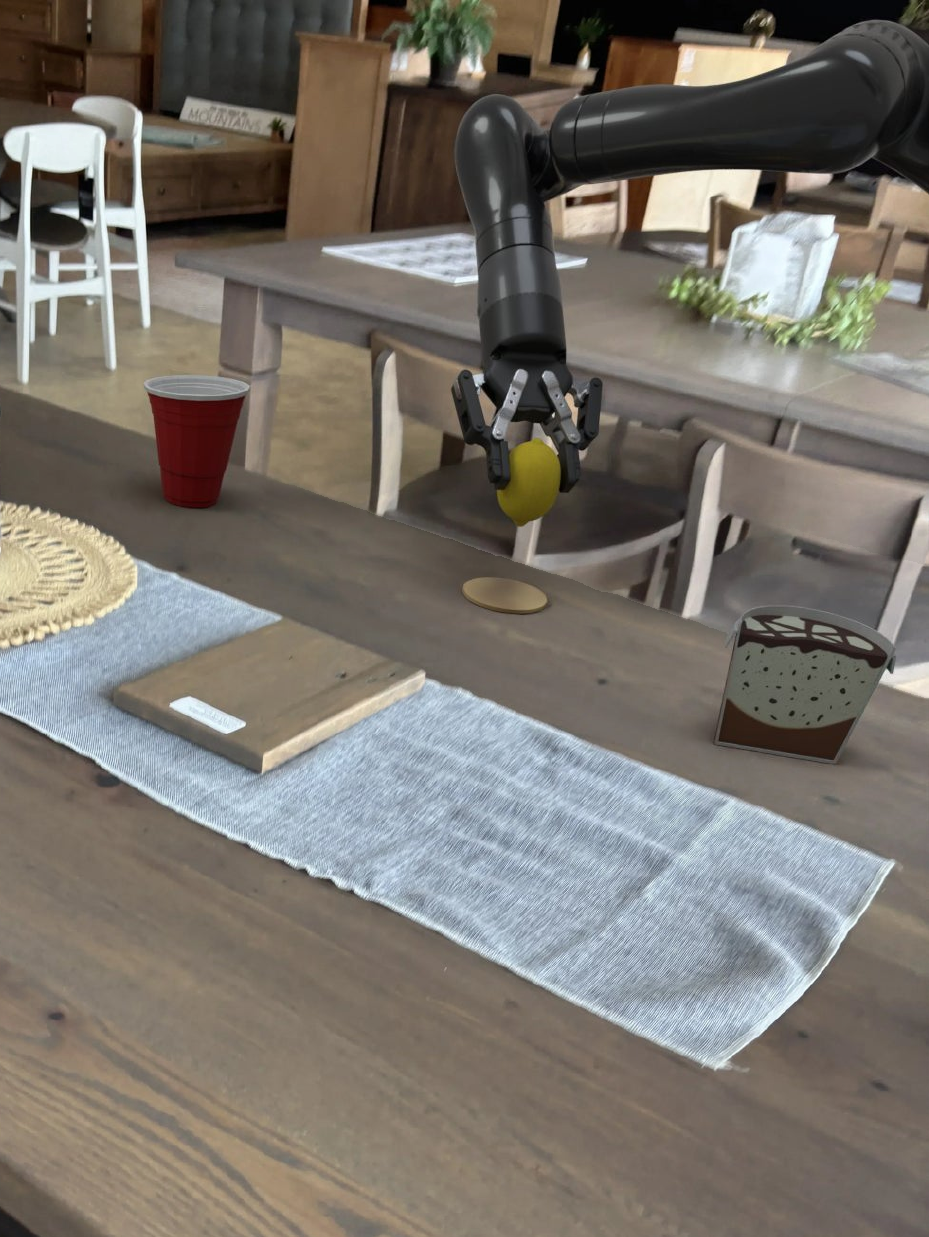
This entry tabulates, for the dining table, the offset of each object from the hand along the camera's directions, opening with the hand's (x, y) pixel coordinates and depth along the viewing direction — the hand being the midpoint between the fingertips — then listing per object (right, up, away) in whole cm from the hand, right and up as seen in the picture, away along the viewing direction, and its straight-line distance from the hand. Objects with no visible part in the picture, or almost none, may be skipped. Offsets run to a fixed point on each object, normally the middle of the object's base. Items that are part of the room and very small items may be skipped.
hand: (535, 486), depth 119 cm
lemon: (-1, -3, +4) cm, 5 cm away
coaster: (-1, -8, +8) cm, 11 cm away
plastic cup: (-32, +6, +23) cm, 40 cm away
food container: (+16, -24, -12) cm, 31 cm away
